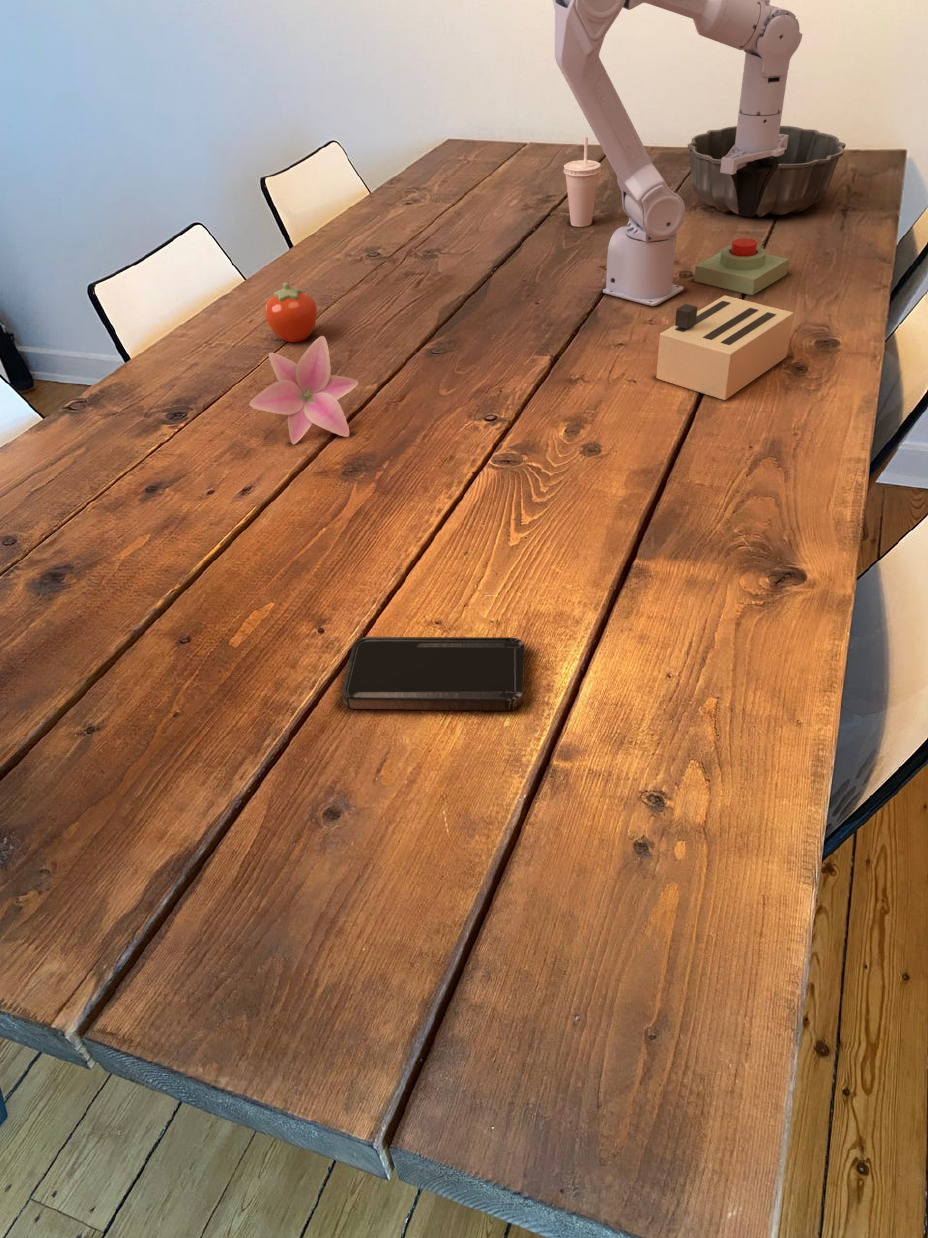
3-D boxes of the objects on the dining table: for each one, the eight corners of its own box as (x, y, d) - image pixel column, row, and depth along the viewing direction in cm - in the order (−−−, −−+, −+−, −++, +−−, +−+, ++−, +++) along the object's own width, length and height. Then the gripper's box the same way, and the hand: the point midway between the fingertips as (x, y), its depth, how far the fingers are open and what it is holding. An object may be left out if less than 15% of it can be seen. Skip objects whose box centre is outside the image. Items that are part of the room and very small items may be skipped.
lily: (245, 446, 116) (243, 399, 107) (272, 371, 121) (272, 321, 112) (340, 472, 117) (346, 428, 108) (364, 397, 122) (371, 349, 113)
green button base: (693, 281, 145) (696, 254, 142) (728, 261, 150) (731, 235, 147) (752, 295, 139) (756, 268, 137) (786, 274, 145) (790, 247, 142)
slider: (674, 325, 118) (676, 308, 116) (683, 320, 119) (685, 303, 117) (687, 329, 117) (688, 311, 115) (696, 323, 118) (697, 306, 116)
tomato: (330, 329, 139) (322, 275, 133) (303, 350, 134) (293, 295, 128) (288, 323, 141) (278, 270, 136) (260, 344, 136) (248, 289, 131)
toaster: (655, 378, 121) (659, 332, 117) (719, 338, 129) (724, 294, 125) (724, 400, 115) (730, 353, 111) (786, 356, 123) (794, 311, 119)
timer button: (726, 255, 142) (727, 243, 141) (738, 248, 144) (740, 236, 143) (747, 259, 140) (749, 248, 139) (760, 252, 142) (761, 240, 141)
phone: (522, 701, 76) (339, 698, 78) (522, 711, 77) (341, 708, 78) (524, 636, 82) (355, 635, 84) (524, 646, 83) (356, 645, 84)
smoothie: (597, 229, 165) (600, 142, 156) (560, 228, 166) (561, 142, 157) (600, 217, 170) (603, 131, 161) (565, 217, 171) (566, 132, 162)
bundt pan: (852, 189, 173) (864, 130, 167) (808, 234, 157) (819, 170, 150) (714, 175, 185) (720, 118, 179) (660, 215, 169) (664, 155, 162)
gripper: (759, 126, 123) (745, 233, 131) (813, 102, 130) (797, 205, 139) (711, 119, 126) (701, 224, 135) (767, 97, 134) (754, 197, 143)
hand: (747, 214), depth 137 cm, fingers closed
